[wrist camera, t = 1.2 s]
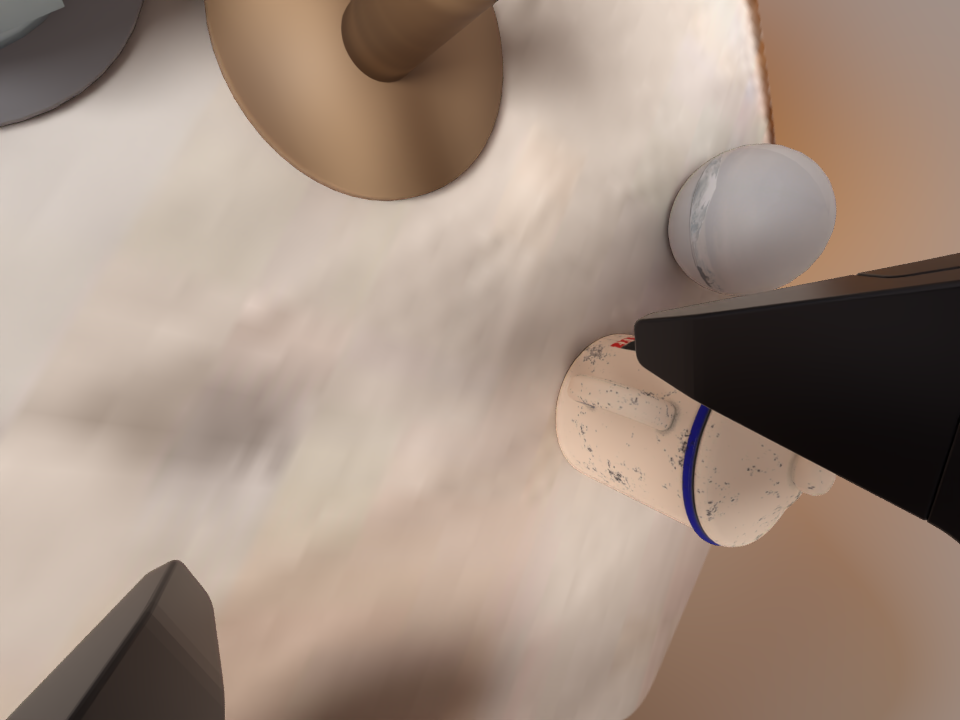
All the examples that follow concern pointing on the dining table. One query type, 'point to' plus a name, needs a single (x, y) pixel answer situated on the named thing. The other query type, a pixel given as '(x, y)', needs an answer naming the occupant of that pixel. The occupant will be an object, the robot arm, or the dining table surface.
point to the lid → (365, 86)
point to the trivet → (63, 55)
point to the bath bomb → (752, 219)
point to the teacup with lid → (675, 449)
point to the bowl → (23, 17)
